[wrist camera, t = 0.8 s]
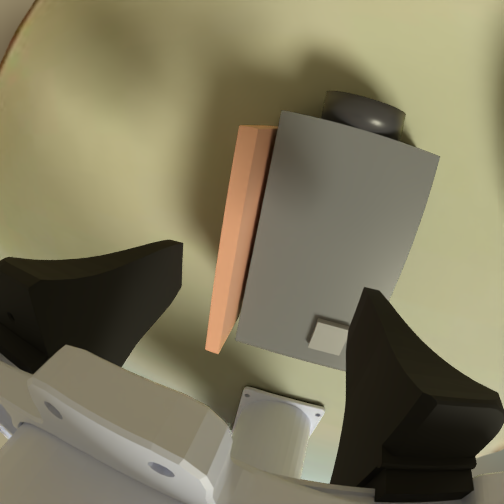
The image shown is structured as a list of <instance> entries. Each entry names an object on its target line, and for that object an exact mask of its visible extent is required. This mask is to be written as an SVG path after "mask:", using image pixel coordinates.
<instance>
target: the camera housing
mask: <svg viewBox="0 0 504 504" xmlns="http://www.w3.org/2000/svg"><path fill="white" fill-rule="evenodd" d="M405 115H406V114H405V113H404V112H403V111H401V110H399V109H397V108H395V107H393V106H390V105H388V104H385V103H382V102H380V101H376V100H373V99H370V98H366V97H363V96H359V95H354V94H350V93H344V92H338V91H327V93H326V97H325V102H324V107H323V112H322V116H321V119H320V118H316V117H312V116H307V115H303V114H298V113H294V112H289V111H284V110H282V111H281V116H280V121H279V125H278V130H277V135H276V140H275V145H274V150H273V155H272V160H271V165H270V170H269V175H268V180H267V185H266V190H265V195H264V200H263V205H262V210H261V215H260V220H259V225H258V230H257V234H256V239H255V244H254V249H253V254H252V259H251V264H250V269H249V274H248V279H247V284H246V289H245V294H244V299H243V304H242V308H241V313H240V318H239V323H238V328H237V333H236V338H235V340H236V341H239V342H242V343H245V344H248V345H252V346H255V347H258V348H261V349H265V350H268V351H271V352H275V353H278V354H282V355H285V356H288V357H292V358H296V359H299V360H303V361H307V362H310V363H314V364H318V365H322V366H326V367H330V368H334V369H338V370H342V371H346V344H347V336H348V329H349V326H350V324H351V321H352V319H353V316H354V313H355V311H356V308H357V305H358V302H359V300H360V297H361V294H362V291H363V288H364V287H367V288H371V289H376V290H379V291H380V292H381V293H382V294H383V295H384V296H385V298H386V299H387V300H388V301H389V300H390V297H391V295H392V293H393V291H394V288H395V286H396V284H397V281H398V279H399V277H400V274H401V272H402V269H403V267H404V264H405V262H406V259H407V257H408V254H409V252H410V249H411V246H412V244H413V241H414V238H415V235H416V233H417V230H418V227H419V224H420V221H421V218H422V215H423V212H424V209H425V206H426V203H427V200H428V197H429V194H430V190H431V187H432V184H433V180H434V177H435V173H436V170H437V166H438V162H439V158H440V156H438V155H435V154H433V153H430V152H427V151H425V150H422V149H419V148H417V147H414V146H411V145H408V144H405V143H402V142H399V141H400V137H401V133H402V129H403V124H404V120H405Z"/></svg>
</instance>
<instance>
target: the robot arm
mask: <svg viewBox="0 0 504 504" xmlns="http://www.w3.org/2000/svg"><path fill="white" fill-rule="evenodd" d="M182 257H183V243H181V242H177V241H173V240H163V241H158V242H154V243H150V244H146V245H143V246H139V247H135V248H131V249H127V250H123V251H119V252H115V253H111V254H106V255H101V256H95V257H89V258H81V259H68V260H32V259H22V258H13V257H7V258H4V259H2V260H1V261H0V432H1V433H3V435H4V436H5V437H6V438H7V439H8V441H7V442H6V443H5V444H4V446H3V447H2V448H1V449H0V504H504V471H503V472H496V473H488V474H482V475H478V476H476V477H474V478H472V472H471V469H474V468H475V467H476V464H477V463H476V458H475V456H476V455H477V454H478V453H479V452H480V451H481V450H482V449H483V448H484V447H485V446H486V445H487V444H488V443H489V442H490V441H491V440H492V439H493V438H494V437H495V436H496V435H497V434H498V432H499V431H500V429H501V428H502V426H503V424H504V409H503V406H502V403H501V400H500V397H499V394H498V393H497V392H495V391H493V390H491V389H489V388H487V387H485V386H483V385H481V384H479V383H477V382H476V381H474V380H472V379H471V378H469V377H467V376H466V375H464V374H463V373H461V372H460V371H458V370H457V369H455V368H454V367H452V366H451V365H450V364H448V363H447V362H446V361H444V360H443V359H442V358H441V357H439V356H438V355H437V354H436V353H435V352H433V351H432V350H431V349H430V348H429V347H428V346H427V345H426V344H425V343H424V342H423V341H422V340H421V339H420V338H419V337H418V336H417V335H416V334H415V333H414V332H413V331H412V329H411V328H410V327H409V326H408V325H407V324H406V323H405V321H404V320H403V319H402V318H401V317H400V315H399V314H398V313H397V312H396V310H395V309H394V308H393V306H392V305H391V304H390V303H389V301H388V300H387V299H386V298H385V296H384V295H383V294H382V293H381V292H380V291H379V290H376V289H371V288H367V287H364V288H363V291H362V294H361V297H360V300H359V302H358V305H357V308H356V311H355V313H354V316H353V319H352V321H351V324H350V326H349V329H348V336H347V344H346V404H345V413H344V420H343V426H342V432H341V437H340V443H339V448H338V452H337V457H336V461H335V465H334V469H333V473H332V477H331V481H330V484H326V483H320V482H314V481H308V480H302V479H301V474H302V470H303V465H304V460H305V455H306V450H307V445H308V440H309V437H310V435H311V434H312V432H313V431H314V429H315V428H316V426H317V424H318V423H319V421H320V420H321V418H322V416H323V415H324V413H325V408H324V407H322V406H318V405H314V404H310V403H306V402H302V401H298V400H294V399H290V398H287V397H283V396H279V395H276V394H272V393H269V392H266V391H262V390H259V389H256V388H252V387H245V388H244V390H243V393H242V397H241V400H240V404H239V408H238V411H237V415H236V418H235V422H234V426H233V429H232V433H231V434H230V431H229V427H228V425H227V424H226V422H225V421H224V420H223V419H221V418H220V417H219V416H218V415H217V414H216V413H215V412H214V411H213V410H212V409H211V408H210V407H209V406H207V405H205V404H203V403H201V402H199V401H197V400H195V399H194V398H192V397H190V396H188V395H186V394H184V393H182V392H179V391H176V390H174V389H171V388H168V387H166V386H163V385H161V384H158V383H156V382H153V381H151V380H149V379H146V378H144V377H142V376H139V375H137V374H135V373H132V372H130V371H128V370H126V369H124V368H121V367H122V366H123V364H124V362H125V361H126V359H127V358H128V356H129V355H130V353H131V352H132V350H133V348H134V347H135V345H136V344H137V343H138V342H139V340H140V339H141V338H142V337H143V335H144V334H145V333H146V332H147V331H148V330H149V329H150V327H151V326H152V325H153V324H154V323H155V322H156V321H157V319H158V318H159V317H160V316H161V315H162V314H163V312H164V311H165V310H166V309H167V308H168V307H169V305H170V304H171V303H172V301H173V300H174V298H175V297H176V295H177V293H178V292H179V290H180V288H181V287H182ZM248 394H249V395H248ZM317 413H318V414H317ZM231 435H232V437H231Z"/></svg>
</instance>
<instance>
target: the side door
mask: <svg viewBox="0 0 504 504" xmlns="http://www.w3.org/2000/svg"><path fill="white" fill-rule="evenodd" d="M277 130H278V127H276V126H264V125H239V130H238V135H237V141H236V146H235V152H234V158H233V164H232V169H231V175H230V181H229V187H228V193H227V200H226V206H225V212H224V218H223V225H222V231H221V238H220V245H219V251H218V258H217V265H216V272H215V279H214V286H213V293H212V301H211V308H210V316H209V323H208V331H207V339H206V347H205V350H208V351H210V352H213V353H216V354H219V352H220V350H221V348H222V347H223V345H224V343H225V341H226V339H227V337H228V335H229V334H230V332H231V330H232V328H233V326H234V324H235V322H236V321H237V319H238V317H239V315H240V313H241V308H242V304H243V299H244V294H245V289H246V284H247V279H248V274H249V269H250V264H251V259H252V254H253V249H254V244H255V239H256V234H257V230H258V225H259V220H260V215H261V210H262V205H263V200H264V195H265V190H266V185H267V180H268V175H269V170H270V165H271V160H272V155H273V150H274V145H275V140H276V135H277Z"/></svg>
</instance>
